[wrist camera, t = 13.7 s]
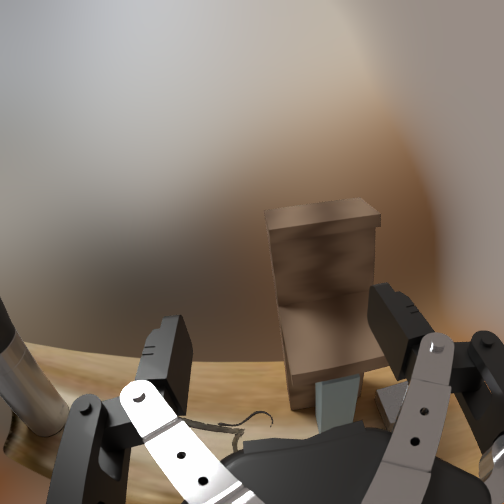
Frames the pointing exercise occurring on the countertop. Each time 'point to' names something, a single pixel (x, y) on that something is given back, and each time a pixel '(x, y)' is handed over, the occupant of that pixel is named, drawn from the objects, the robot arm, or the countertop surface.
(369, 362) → the brown tall blocky piece
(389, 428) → the grey square block
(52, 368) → the countertop surface
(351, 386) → the block
